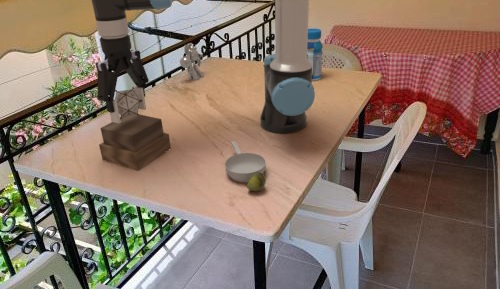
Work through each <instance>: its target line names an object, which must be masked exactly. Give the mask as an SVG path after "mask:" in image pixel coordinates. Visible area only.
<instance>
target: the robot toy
mask: <svg viewBox="0 0 500 289" xmlns="http://www.w3.org/2000/svg"><path fill="white" fill-rule="evenodd" d="M197 49H198V48H197V46H195V45H193V43H192V42H190V43H187V44H184V49H183V50H184V54H185V55H186V56H182V57H181V58H180V59H179V65H180V66H181V67H182V68H185V69H187V74H188V75H189V77H188V78H187V79H188V80H191V81H192V80H193V81H198V80H200V78H203V77H204V73H203V72H202V71H200V67H201V64H202V61H203V58H204V57H203V56H204V55H203V54H202V53H199V52H198V51H197ZM195 62H197V64H195Z"/></svg>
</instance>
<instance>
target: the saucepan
mask: <svg viewBox="0 0 500 289" xmlns="http://www.w3.org/2000/svg"><path fill="white" fill-rule="evenodd" d="M231 145H232V147H233V149H234V150H235V153H236V154H234V155H231V156H229V157H228V158H227V159H226V160H225V162H224V167H225V171H226V173H227V175H228V176H229V177H230V179H232V180H233V181H235V182H239V183H248V181H249V180H250V178H251V177H252V176H253V175H254V174H255V173H257V172H261V173H262V174H263V175H264V172H265V170H266V163H267V161H266V159H265V157H263V156H262V155H260V154H257V153H253V152H242V151H241V149H240V147H239V145H238V144H237V142H236V141H235V140H234V141H231Z"/></svg>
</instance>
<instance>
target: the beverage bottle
mask: <svg viewBox="0 0 500 289" xmlns="http://www.w3.org/2000/svg"><path fill="white" fill-rule="evenodd" d="M321 38H322V30H321V29H319V28H308V42H307V59H308V60H309V61H310V62H311V63H312V82H313V81H319V80H321V79H322V66H323V63H322V62H323V56H324V53H323V52H324V51H323V48H324V46H323V43H322V41H321Z"/></svg>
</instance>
